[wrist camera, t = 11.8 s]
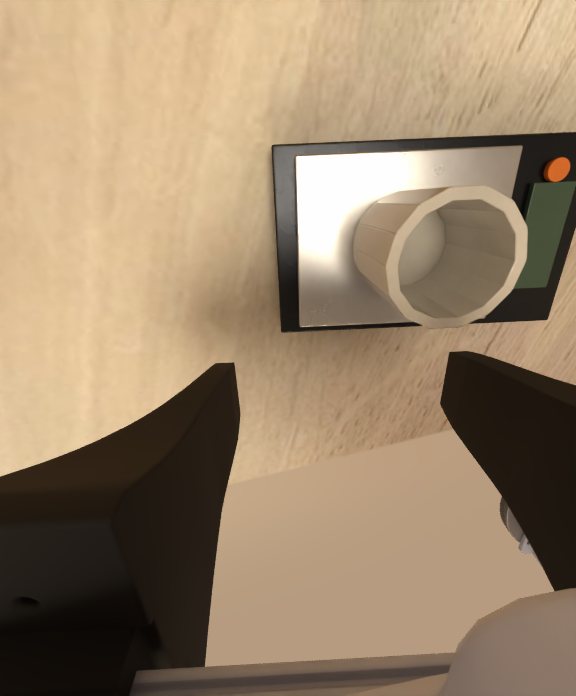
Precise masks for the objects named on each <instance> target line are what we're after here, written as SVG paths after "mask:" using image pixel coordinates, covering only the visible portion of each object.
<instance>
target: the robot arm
mask: <svg viewBox="0 0 576 696" xmlns="http://www.w3.org/2000/svg"><path fill="white" fill-rule="evenodd" d="M440 405H441V407H442V409H443V411H444V413H445V415H446V417H447V419H448V420H449V422H450V424H451V426H452V428H453V429H454V431H455V432H456V433H457V435H458V436H459V438H460V439H461V440H462V442H463V443H464V445H465V446H466V447H467V449H468V450H469V451H470V453H471V454H472V455H473V457H474V458H475V459H476V461H477V462H478V463H479V465H480V466H481V468H482V469H483V470H484V472H485V473H486V474H487V476H488V477H489V478H490V479H491V481H492V482H493V484H494V485H495V487H496V488H497V489H498V491H499V492H500V494H501V495H502V497H503V498H504V500H505V502H506V503H507V505H508V507H509V509H510V510H511V512H512V514H513V515H514V517H515V519H516V520H517V522H518V524H519V525H520V527H521V529H522V531H523V532H524V534H523V537H522V539H521V542H520V545H519V549H520V551H521V552H522V553H525V554H527V553H532V554H533V555H534V556H535V558H536V559H537V560H538V562H539V563H540V565H541V566H542V567H543V569H544V571H545V573H546V575H547V577H548V579H549V581H550V583H551V585H552V587H553V589H554V592H550V593H545V594H540V595H535V596H530V597H525V598H520V599H517V600H516V601H513V602H511V603H510V604H508V605H506V606H504V607H502V608H500V609H498V610H496V611H494V612H492V613H490V614H488V615H487V616H485V617H483V618H481V619H479V620H478V621H477V622H476V623H475V625H474V626H473V627H472V628H471V629H470V631H469V632H468V633H467V634H466V635H465V637H464V638H463V639H462V641H461V642H460V643H459V644H458V646H457V649H456V652H455V653H439V654H422V655H404V656H387V657H370V658H352V659H337V660H336V659H334V660H319V661H318V660H317V661H301V662H300V661H299V662H282V663H267V664H266V663H264V664H247V665H230V666H212V667H205V658H206V647H207V635H208V625H209V616H210V606H211V596H212V586H213V577H214V568H215V560H216V551H217V543H218V535H219V527H220V519H221V512H222V507H223V502H224V497H225V492H226V488H227V484H228V480H229V476H230V472H231V467H232V463H233V459H234V455H235V450H236V446H237V441H238V434H239V424H240V406H239V398H238V390H237V381H236V373H235V365H234V363H216V364H214V365H213V366H212V367H210V368H209V369H208V370H207V371H205V372H204V373H203V374H202V375H201V376H199V377H198V378H197V379H196V380H195V381H193V382H192V383H191V384H190V385H188V386H187V387H186V388H185V389H183V390H182V391H181V392H179V393H178V394H177V395H175V396H174V397H173V398H171V399H170V400H168V401H167V402H166V403H164V404H163V405H161V406H160V407H158V408H157V409H155V410H154V411H152V412H151V413H149V414H147V415H146V416H144V417H142V418H141V419H139V420H137V421H135V422H134V423H132V424H130V425H128V426H126V427H124V428H122V429H120V430H118V431H116V432H114V433H112V434H110V435H108V436H106V437H104V438H102V439H100V440H98V441H96V442H93V443H91V444H89V445H86V446H84V447H82V448H79V449H77V450H75V451H72V452H70V453H67V454H64V455H62V456H59V457H57V458H54V459H51V460H49V461H46V462H43V463H40V464H38V465H34V466H31V467H28V468H25V469H22V470H19V471H16V472H13V473H10V474H7V475H4V476H1V477H0V696H576V386H575V385H572V384H569V383H566V382H562V381H559V380H556V379H553V378H550V377H547V376H544V375H541V374H538V373H535V372H532V371H529V370H526V369H523V368H521V367H518V366H515V365H512V364H509V363H506V362H503V361H500V360H498V359H495V358H492V357H488V356H485V355H482V354H478V353H474V352H469V351H461V352H449V357H448V363H447V368H446V374H445V379H444V385H443V390H442V396H441V401H440Z"/></svg>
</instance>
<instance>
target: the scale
mask: <svg viewBox="0 0 576 696" xmlns="http://www.w3.org/2000/svg"><path fill="white" fill-rule="evenodd" d="M272 164H273V184H274V203H275V222H276V241H277V260H278V280H279V299H280V318H281V332H283V333H284V332H305V331H326V330H347V329H368V328H389V327H410V326H423V325H420V324H418V323H416V322H413V321H411V320H409V319H407V318H406V317H404V316H403V315H402V314H401V313H400V312H399V311H398V310H396V309H395V308H394V307H393V306H392V305H391V304H390V303H389V302H388V301H387V300H385V299H384V298H383V297H382V296H381V295H380V294H379V293H378V292H377V291H376V290H374V289H373V288H372V287H371V286H370V285H369V284H368V282H367V281H366V280H365V279H364V278H363V277H362V276H361V274H360V273H359V271H358V269H357V267H356V265H355V262H354V258H353V238H354V234H355V231H356V228H357V225H358V223H359V221H360V220H361V218H362V216H363V215H364V214H365V212H366V211H367V210H368V209H369V208H370V207H371V206H372V205H373V204H374V203H375V202H377V201H378V200H379V199H381V198H383V197H385V196H387V195H389V194H392V193H396V192H398V191H405V190H417V189H428V188H440V187H451V186H472V185H486V186H489V187H491V188H493V189H495V190H496V191H498V192H500V193H502V194H504V195H505V196H507V197H509V198H511V199H512V200H513V201H514V202H515V203H516V205H517V207H518V209H519V211H520V213H521V215H522V217H523V219H524V221H525V223H526V225H527V228H528V240H527V260H526V263H525V265H524V267H523V269H522V271H521V273H520V275H519V278H518V280H517V282H516V284H515V286H514V288H513V290H511V292H510V293H509V294H508V295H507V296H506V297H505V298H504V299H503V300H502V301H501V302H500V303H499V304H498V305H497V306H496V307H495V308H494V309H493V310H492V311H491V312H490V313H489V314H487V315H486V316H483V317H481V318H479V319H477V320H475V321H473V322H470V323H468V324H473V323H494V322H515V321H536V320H547V319H548V316H549V313H550V310H551V307H552V303H553V300H554V297H555V293H556V290H557V287H558V284H559V280H560V277H561V274H562V271H563V267H564V264H565V261H566V257H567V254H568V251H569V248H570V244H571V241H572V238H573V234H574V231H575V228H576V132H564V133H540V134H516V135H492V136H469V137H445V138H421V139H398V140H374V141H350V142H326V143H303V144H279V145H272Z"/></svg>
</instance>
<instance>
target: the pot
mask: <svg viewBox="0 0 576 696" xmlns="http://www.w3.org/2000/svg"><path fill="white" fill-rule="evenodd" d="M527 240H528V228H527V225H526V223H525V221H524V219H523V217H522V215H521V213H520V211H519V209H518V207H517V205H516V203H515V202H514V201H513V200H512V199H511V198H509V197H507V196H505V195H504V194H502V193H500V192H498V191H496V190H495V189H493V188H491V187H489V186H486V185H472V186H451V187H440V188H428V189H417V190H405V191H398V192H396V193H392V194H389V195H387V196H385V197H383V198H381V199H379V200H378V201H377V202H375V203H374V204H373V205H372V206H371V207H370V208H369V209H368V210H367V211H366V212H365V214H364V215H363V216H362V218H361V220H360V221H359V223H358V225H357V228H356V231H355V234H354V238H353V258H354V262H355V265H356V267H357V269H358V271H359V273H360V274H361V276H362V277H363V278H364V279H365V280H366V281H367V282H368V284H369V285H370V286H371V287H372V288H373V289H374V290H376V291H377V292H378V293H379V294H380V295H381V296H382V297H383V298H384V299H385V300H387V301H388V302H389V303H390V304H391V305H392V306H393V307H394V308H395V309H396V310H398V311H399V312H400V313H401V314H402V315H403V316H404V317H406V318H407V319H409V320H411V321H413V322H416V323H418V324H420V325H423V326H425V327H427V328H431V329H437V328H458V327H462V326H464V325H466V324H468V323H470V322H473V321H475V320H477V319H479V318H481V317H483V316H486V315H487V314H489V313H490V312H491V311H492V310H493V309H494V308H495V307H496V306H497V305H498V304H499V303H500V302H501V301H502V300H503V299H504V298H505V297H506V296H507V295H508V294H509V293H510V292H511V290H513V288H514V286H515V284H516V282H517V280H518V278H519V275H520V273H521V271H522V269H523V267H524V265H525V263H526V260H527Z"/></svg>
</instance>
